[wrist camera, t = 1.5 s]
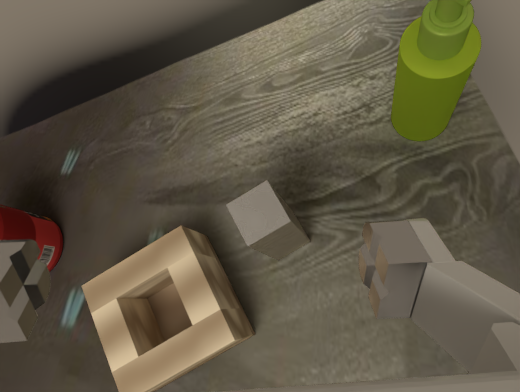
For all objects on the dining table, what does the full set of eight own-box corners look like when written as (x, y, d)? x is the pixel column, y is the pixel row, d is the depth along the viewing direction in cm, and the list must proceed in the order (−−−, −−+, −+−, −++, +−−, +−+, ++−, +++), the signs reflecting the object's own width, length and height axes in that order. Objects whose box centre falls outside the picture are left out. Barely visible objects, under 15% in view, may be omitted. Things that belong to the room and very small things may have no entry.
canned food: (60, 208, 53) (-15, 185, 42) (70, 267, 50) (-8, 259, 40) (10, 229, 54) (-74, 212, 44) (18, 288, 51) (-70, 285, 41)
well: (255, 334, 43) (234, 340, 36) (159, 388, 44) (123, 404, 37) (207, 235, 47) (181, 225, 40) (120, 288, 48) (81, 285, 41)
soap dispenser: (405, 76, 46) (431, -81, 27) (461, 109, 43) (533, -39, 24) (372, 116, 45) (374, -14, 27) (426, 151, 43) (471, 36, 24)
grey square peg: (310, 241, 44) (290, 221, 32) (278, 260, 44) (247, 246, 33) (292, 210, 45) (267, 180, 34) (261, 228, 45) (226, 205, 34)
